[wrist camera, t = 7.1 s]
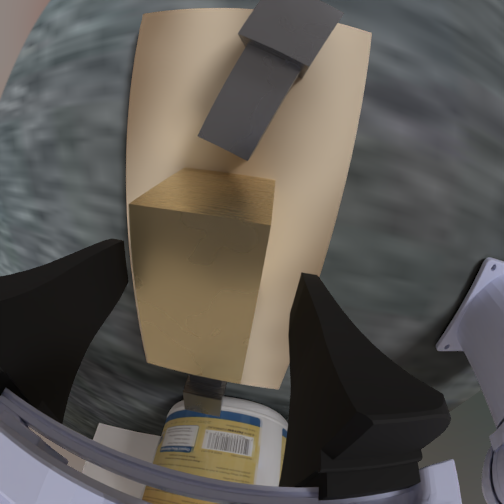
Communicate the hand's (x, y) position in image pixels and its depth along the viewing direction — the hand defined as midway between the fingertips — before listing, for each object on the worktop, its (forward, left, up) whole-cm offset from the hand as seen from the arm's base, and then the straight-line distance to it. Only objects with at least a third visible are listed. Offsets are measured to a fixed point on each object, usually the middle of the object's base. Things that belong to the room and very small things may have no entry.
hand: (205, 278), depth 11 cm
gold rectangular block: (0, 0, -3) cm, 3 cm away
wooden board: (0, 0, -4) cm, 4 cm away
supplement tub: (-2, +20, -4) cm, 21 cm away
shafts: (-1, 0, -3) cm, 3 cm away
